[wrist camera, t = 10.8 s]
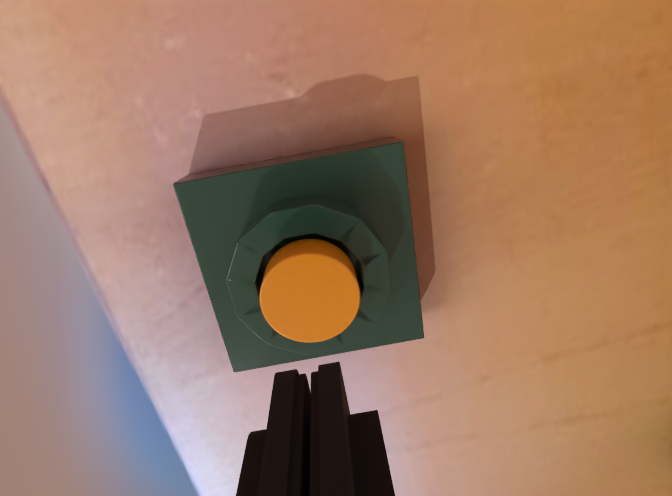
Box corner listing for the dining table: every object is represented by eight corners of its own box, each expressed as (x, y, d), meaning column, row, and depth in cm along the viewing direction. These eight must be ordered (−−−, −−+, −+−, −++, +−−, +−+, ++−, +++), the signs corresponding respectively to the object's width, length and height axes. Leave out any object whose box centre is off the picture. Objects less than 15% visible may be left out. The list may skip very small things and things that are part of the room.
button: (275, 328, 18) (272, 351, 16) (254, 247, 16) (247, 263, 15) (362, 312, 18) (367, 333, 16) (348, 230, 16) (352, 244, 15)
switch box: (241, 347, 22) (226, 397, 19) (187, 174, 19) (156, 192, 15) (414, 316, 22) (434, 360, 19) (393, 136, 19) (414, 146, 15)
